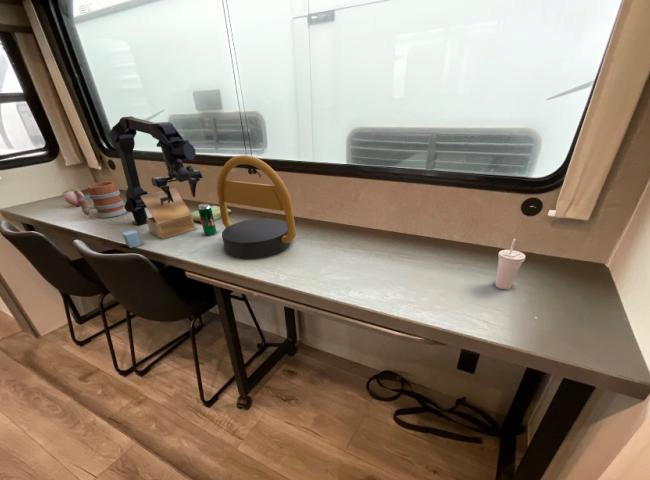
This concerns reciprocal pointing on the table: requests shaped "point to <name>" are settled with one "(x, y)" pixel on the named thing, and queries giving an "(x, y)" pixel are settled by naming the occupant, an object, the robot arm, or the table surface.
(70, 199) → the decorative fruit
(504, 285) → the smoothie
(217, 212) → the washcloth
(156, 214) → the lid
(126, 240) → the block
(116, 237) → the table surface
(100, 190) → the mug
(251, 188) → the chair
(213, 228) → the soda can
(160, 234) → the wooden box
